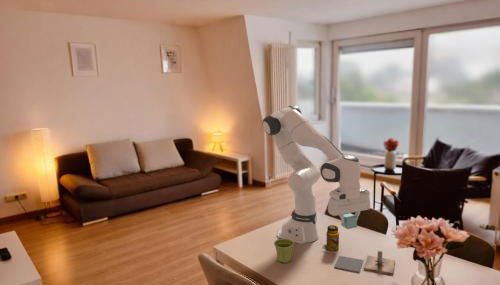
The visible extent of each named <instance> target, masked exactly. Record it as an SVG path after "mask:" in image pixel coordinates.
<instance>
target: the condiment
mask: <svg viewBox="0 0 500 285" xmlns="http://www.w3.org/2000/svg"><path fill="white" fill-rule="evenodd" d="M326 230H327V231H326V244H322V249H321V252H326V253H332V254H333V253H334V254H339V253H340V251H341V250H340V248H341V246H340V232H339V227H338V226H337V225H334V224H331V225H328V226H327V229H326Z"/></svg>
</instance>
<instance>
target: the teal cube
mask: <svg viewBox="0 0 500 285" xmlns="http://www.w3.org/2000/svg"><path fill="white" fill-rule="evenodd" d="M354 215H355V214H353V213H346V214H344V216H343V217H344V218H345V219H346V223H342V222H341V221H340V223H341V226H342V227H343V228H345V229H346V230H350V229H351V230H352V229H355V228H357V226H358V220H357V217H356V216H354Z"/></svg>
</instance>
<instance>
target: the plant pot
mask: <svg viewBox="0 0 500 285" xmlns="http://www.w3.org/2000/svg"><path fill="white" fill-rule="evenodd" d="M294 244H295V242H293V241H292V240H289V239H281V238H278V239H277V240H275V241H274V242H273V245H274V247H275V250H276V256H277V261H278V262H279V263H283V264H284V263H290V262H291V260H292V252H293V248H294Z"/></svg>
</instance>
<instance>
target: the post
mask: <svg viewBox="0 0 500 285" xmlns="http://www.w3.org/2000/svg"><path fill="white" fill-rule="evenodd" d="M395 261H396V260H395V259H391V258H390V259H389V258H385V257H383V251H382V250H377V256H373V255H367V257H366V260H365V262H364V266H363V271H364V270H365V271H369V272H372V273H373V272H374V273H379V274H385V275H390V276H393V275H394V269H395Z"/></svg>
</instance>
